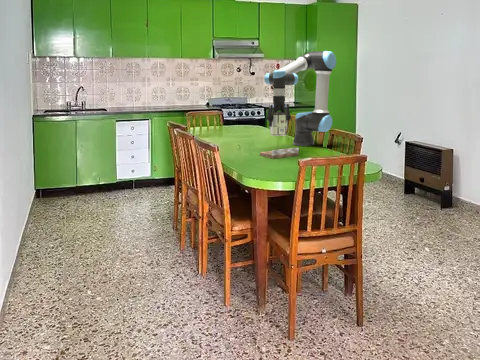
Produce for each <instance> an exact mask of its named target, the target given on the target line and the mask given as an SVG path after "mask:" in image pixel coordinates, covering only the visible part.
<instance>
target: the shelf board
mask: <svg viewBox="0 0 480 360" xmlns="http://www.w3.org/2000/svg"><path fill="white" fill-rule="evenodd" d="M299 154H300V148H299V146H297V147H291V148H290V147H289V148H282V149H273V150H267V151H260V152H259V156H261V157H264V158H265V157H266V158H268V159H269V158H270V159H281V158H288V157H298V156H300V155H299Z"/></svg>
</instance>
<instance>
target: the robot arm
mask: <svg viewBox="0 0 480 360" xmlns="http://www.w3.org/2000/svg"><path fill="white" fill-rule="evenodd" d="M336 66H337V58H336V55H335V53H334V52H332V51H330V50H329V51H328V50H321V51H319V50H318V51H310V52H307V53H304V54H302V55H300V56H298V57H297V58H296V59H295V60H294V61H291V62H290V63H288V64H287V65H284V66H283V67H281V68H280V69H275V70H273V72H267V73H266V74H265V75H264V76H263V77H264V79H263V80H264V83H265V84H266V85H270V86H273V87H272V94H273V96H272V103H273V104H269V105H268V111H267V115H266V118H265V121H267V122H268V127H269V132H270V133H271V132H273V122H272V121H273V115H271V114H272V113H276V112H283V113H285V112H287V126H289V121H290V120H291V119H292V118H291V117H292V116H291V113H290V112H291V111H290V104H289V103H285V102H286V86H295V85H297V83H298V82H299V76H298V74H297V73H300V72H301V71H305V70H310V69H311V70H314V73H316V82H315V83H316V84H315V100H314V110H312V111H305V112H304V111H303V112H298V113H296V114H295V133H294V134H295V135H294V137H293V139H292V140H293V141H292V145H293V146H297V147H299V146H300V147H310V146H314V145H315V140H314V137H313V136H314V135H313V132H320V133H321V132H322V133H325V132H326V133H327V132H328V131H329V130H330V129H331V128H332V126H333V117H332V115H330V111H329V109H328V105H329V103H328V102H329V90H330V88H329V87H330V75H331V74H332V73H333V70H334V69H335V68H336Z"/></svg>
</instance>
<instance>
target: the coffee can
mask: <svg viewBox="0 0 480 360" xmlns="http://www.w3.org/2000/svg"><path fill="white" fill-rule="evenodd" d="M271 115H273V121H272V122H273V132H270V136H271V137H275V136H276V137H283V136H284V137H285V136H287V131H288V125H287V112H286V111H285V113H283V112H281V111H277V112H276V113H272V114H271Z"/></svg>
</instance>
